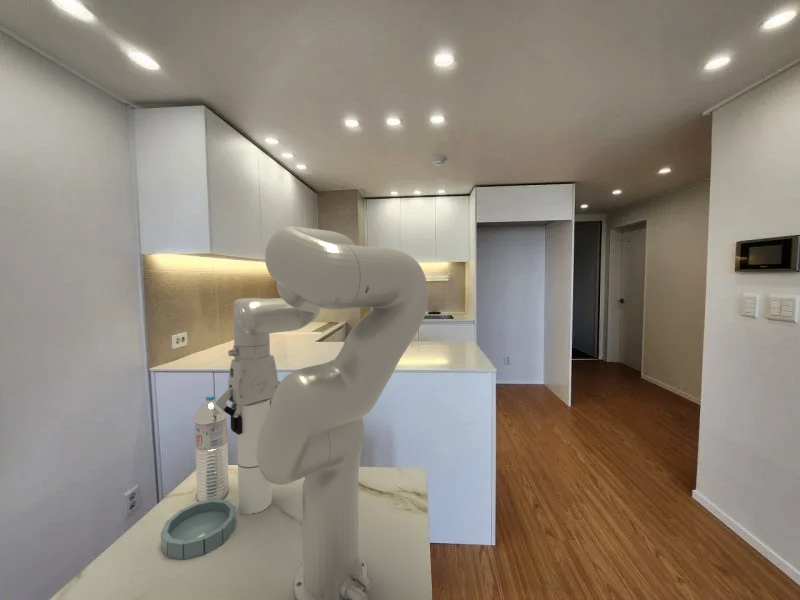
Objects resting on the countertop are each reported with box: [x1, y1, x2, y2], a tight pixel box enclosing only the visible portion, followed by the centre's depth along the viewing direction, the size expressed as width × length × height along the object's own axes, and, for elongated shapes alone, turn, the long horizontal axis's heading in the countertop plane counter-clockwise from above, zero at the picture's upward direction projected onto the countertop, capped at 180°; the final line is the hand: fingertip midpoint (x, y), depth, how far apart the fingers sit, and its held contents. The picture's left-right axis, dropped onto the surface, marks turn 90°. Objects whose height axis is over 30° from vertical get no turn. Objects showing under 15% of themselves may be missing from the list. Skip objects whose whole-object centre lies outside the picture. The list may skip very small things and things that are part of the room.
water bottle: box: [193, 394, 230, 502], centre depth 82 cm, size 7×7×25 cm
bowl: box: [160, 499, 237, 560], centre depth 71 cm, size 13×13×3 cm
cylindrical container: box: [236, 399, 273, 515], centre depth 79 cm, size 7×7×25 cm
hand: (254, 426), depth 79 cm, fingers closed on cylindrical container, 7 cm apart
